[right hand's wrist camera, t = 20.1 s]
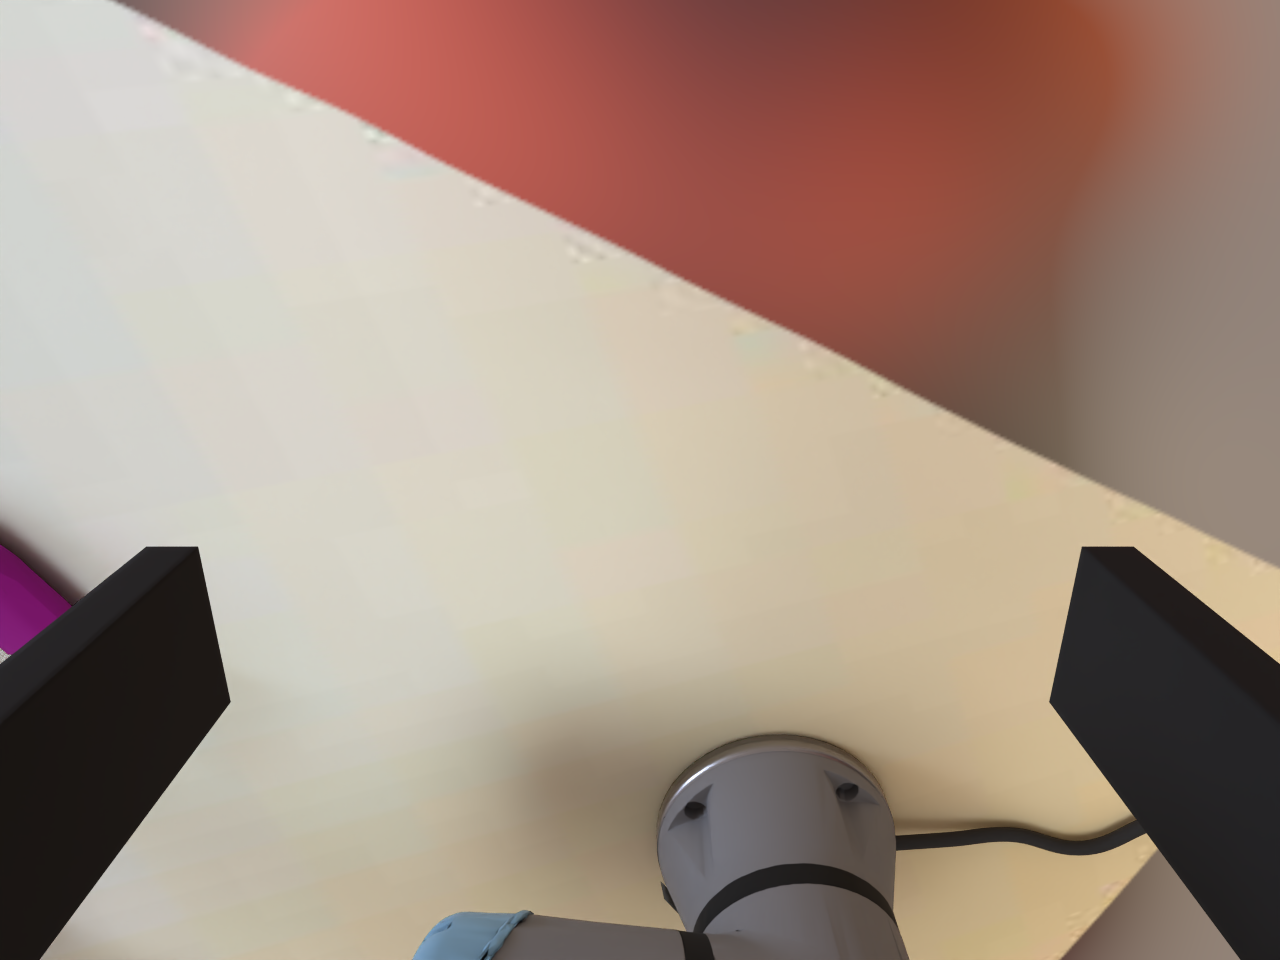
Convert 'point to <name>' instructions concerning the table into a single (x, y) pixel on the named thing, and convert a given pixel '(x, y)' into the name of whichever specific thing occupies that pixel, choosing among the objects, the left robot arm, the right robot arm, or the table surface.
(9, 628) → the spray bottle
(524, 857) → the table surface
